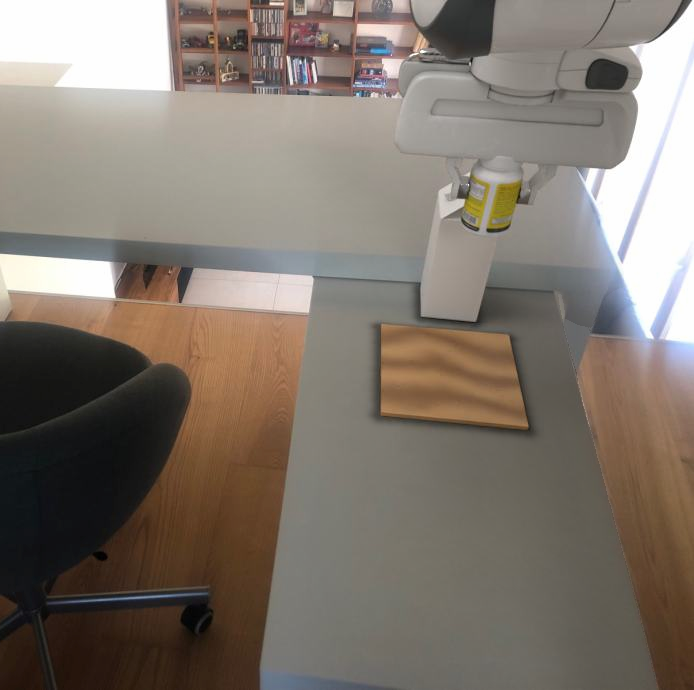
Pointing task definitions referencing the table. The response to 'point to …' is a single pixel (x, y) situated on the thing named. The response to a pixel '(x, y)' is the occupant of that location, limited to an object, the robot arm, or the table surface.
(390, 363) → the wooden board
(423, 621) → the table surface
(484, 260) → the milk carton
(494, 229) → the supplement bottle
